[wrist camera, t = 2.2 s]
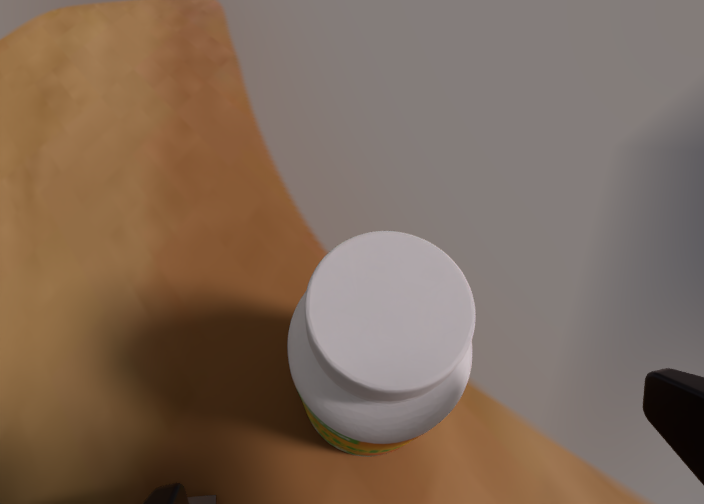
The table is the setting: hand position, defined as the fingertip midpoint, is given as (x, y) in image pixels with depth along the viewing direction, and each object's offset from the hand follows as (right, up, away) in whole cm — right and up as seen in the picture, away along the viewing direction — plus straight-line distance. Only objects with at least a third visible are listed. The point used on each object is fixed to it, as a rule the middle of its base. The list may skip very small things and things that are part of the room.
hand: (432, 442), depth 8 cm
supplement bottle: (-1, -2, +11) cm, 11 cm away
